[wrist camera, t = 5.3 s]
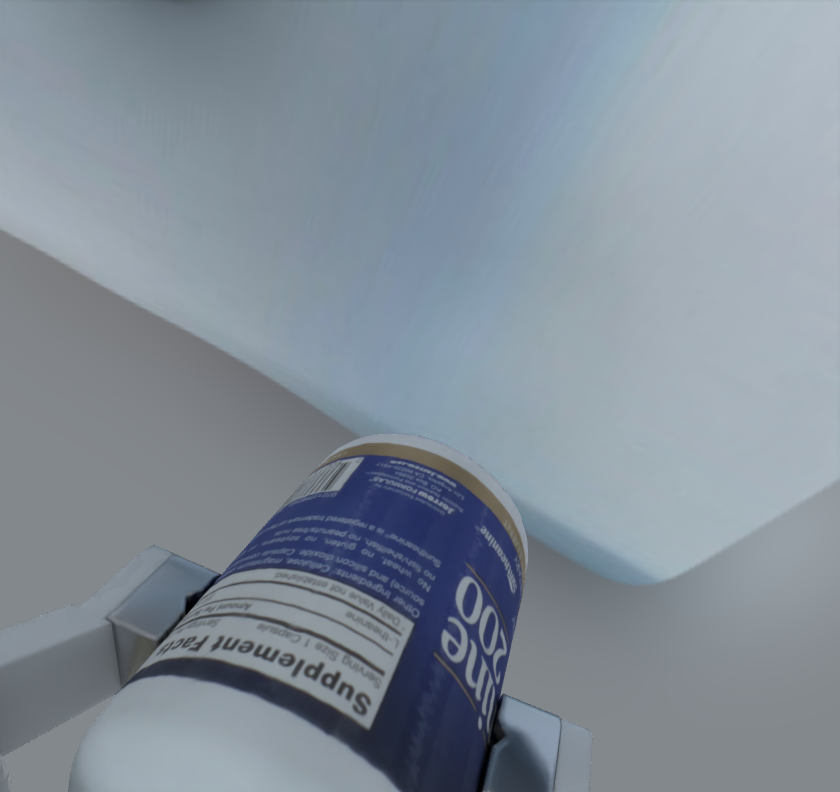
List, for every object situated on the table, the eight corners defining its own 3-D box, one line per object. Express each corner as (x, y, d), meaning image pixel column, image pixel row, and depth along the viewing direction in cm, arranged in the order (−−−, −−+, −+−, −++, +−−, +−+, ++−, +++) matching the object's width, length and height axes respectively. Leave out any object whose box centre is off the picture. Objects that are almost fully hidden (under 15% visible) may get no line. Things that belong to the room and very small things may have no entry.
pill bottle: (517, 637, 14) (349, 1410, 6) (319, 578, 15) (-45, 1128, 7) (550, 453, 11) (333, 1368, 3) (309, 403, 13) (-275, 944, 5)
